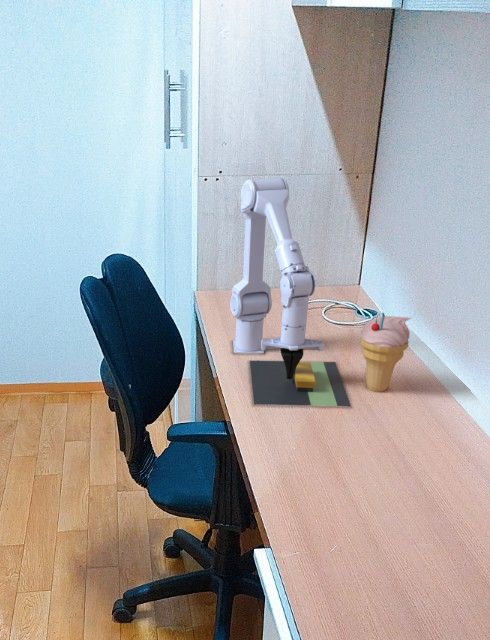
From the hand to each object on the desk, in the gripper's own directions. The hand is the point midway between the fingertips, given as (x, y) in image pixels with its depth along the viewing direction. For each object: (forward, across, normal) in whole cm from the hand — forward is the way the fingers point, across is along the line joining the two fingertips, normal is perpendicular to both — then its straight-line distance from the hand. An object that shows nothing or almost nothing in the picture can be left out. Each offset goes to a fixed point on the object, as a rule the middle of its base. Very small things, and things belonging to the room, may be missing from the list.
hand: (289, 377), depth 177 cm
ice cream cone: (+2, +21, -2) cm, 21 cm away
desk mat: (+1, +2, 0) cm, 2 cm away
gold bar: (+1, +3, 0) cm, 3 cm away
